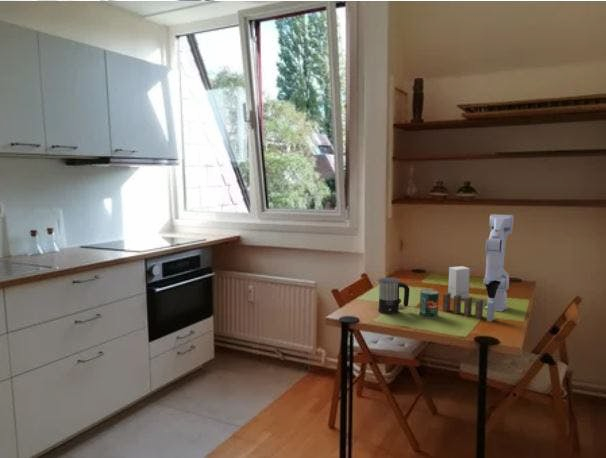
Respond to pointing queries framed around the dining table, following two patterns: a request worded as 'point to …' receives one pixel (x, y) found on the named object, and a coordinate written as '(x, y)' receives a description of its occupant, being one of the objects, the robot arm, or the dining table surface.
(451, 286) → the skincare box
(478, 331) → the dining table surface
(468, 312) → the domino
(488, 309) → the domino
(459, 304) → the domino
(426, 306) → the canned tomato
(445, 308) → the domino
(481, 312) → the domino
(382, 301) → the milk frother
